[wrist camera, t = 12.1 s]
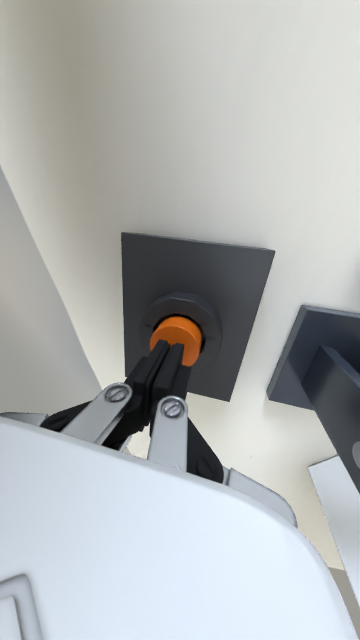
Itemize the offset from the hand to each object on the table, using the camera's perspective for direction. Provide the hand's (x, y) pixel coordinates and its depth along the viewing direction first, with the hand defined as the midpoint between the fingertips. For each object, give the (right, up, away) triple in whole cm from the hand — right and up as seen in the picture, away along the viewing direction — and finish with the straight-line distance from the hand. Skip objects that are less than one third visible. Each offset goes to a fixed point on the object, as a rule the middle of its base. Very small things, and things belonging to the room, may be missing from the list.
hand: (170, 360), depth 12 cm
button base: (+1, +3, +6) cm, 7 cm away
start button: (+1, +1, +3) cm, 3 cm away
